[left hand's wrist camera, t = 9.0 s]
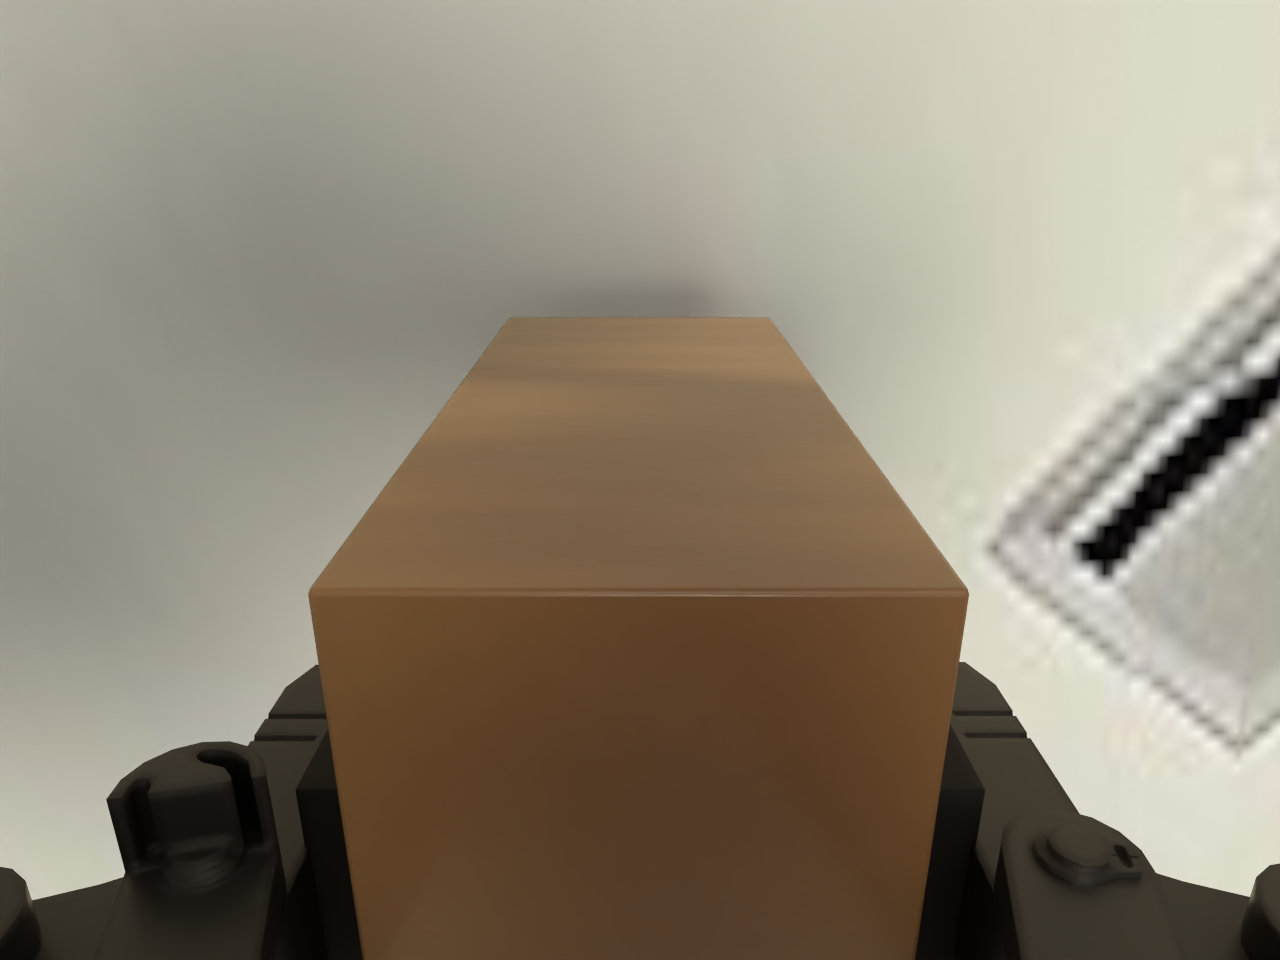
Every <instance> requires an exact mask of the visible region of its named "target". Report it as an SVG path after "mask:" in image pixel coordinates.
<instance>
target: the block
mask: <svg viewBox="0 0 1280 960" xmlns="http://www.w3.org/2000/svg"><path fill="white" fill-rule="evenodd" d="M308 595H309V602H310V609H311V615H312V622H313V629H314V635H315V642H316V649H317V656H318V662H319V669H320V676H321V682H322V689H323V696H324V703H325V709H326V716H327V723H328V729H329V736H330V743H331V750H332V756H333V763H334V770H335V776H336V783H337V790H338V797H339V803H340V810H341V817H342V823H343V830H344V837H345V844H346V850H347V857H348V864H349V870H350V877H351V884H352V891H353V897H354V904H355V911H356V917H357V924H358V931H359V938H360V944H361V951H362V958H363V960H915V956H916V949H917V942H918V936H919V929H920V922H921V915H922V908H923V902H924V895H925V888H926V881H927V875H928V868H929V861H930V854H931V848H932V841H933V834H934V827H935V821H936V814H937V807H938V800H939V793H940V787H941V780H942V773H943V766H944V760H945V753H946V746H947V739H948V733H949V726H950V719H951V712H952V706H953V699H954V692H955V685H956V678H957V672H958V665H959V658H960V651H961V645H962V638H963V631H964V624H965V618H966V611H967V604H968V597H969V592H968V589H967V588H966V586H965V585H964V583H963V582H962V581H961V579H960V578H959V577H958V575H957V574H956V573H955V571H954V570H953V568H952V567H951V566H950V564H949V563H948V562H947V560H946V559H945V557H944V556H943V555H942V553H941V552H940V551H939V549H938V548H937V547H936V545H935V544H934V542H933V541H932V540H931V538H930V537H929V536H928V534H927V533H926V531H925V530H924V529H923V527H922V526H921V525H920V523H919V522H918V521H917V519H916V518H915V516H914V515H913V514H912V512H911V511H910V510H909V508H908V507H907V505H906V504H905V503H904V501H903V500H902V499H901V497H900V496H899V494H898V493H897V492H896V490H895V489H894V488H893V486H892V485H891V484H890V482H889V481H888V479H887V478H886V477H885V475H884V474H883V473H882V471H881V470H880V468H879V467H878V466H877V464H876V463H875V462H874V460H873V459H872V458H871V456H870V455H869V453H868V452H867V451H866V449H865V448H864V447H863V445H862V444H861V442H860V441H859V440H858V438H857V437H856V436H855V434H854V433H853V432H852V430H851V429H850V427H849V426H848V425H847V423H846V422H845V421H844V419H843V418H842V416H841V415H840V414H839V412H838V411H837V410H836V408H835V407H834V405H833V404H832V403H831V401H830V400H829V399H828V397H827V396H826V395H825V393H824V392H823V390H822V389H821V388H820V386H819V385H818V384H817V382H816V381H815V379H814V378H813V377H812V375H811V374H810V373H809V371H808V370H807V369H806V367H805V366H804V364H803V363H802V362H801V360H800V359H799V358H798V356H797V355H796V353H795V352H794V351H793V349H792V348H791V347H790V345H789V344H788V342H787V341H786V340H785V338H784V337H783V336H782V334H781V333H780V332H779V330H778V329H777V327H776V326H775V325H774V323H773V322H772V321H771V319H770V318H509V319H508V320H507V322H506V323H505V325H504V326H503V327H502V329H501V330H500V331H499V333H498V334H497V335H496V337H495V338H494V339H493V341H492V342H491V344H490V345H489V346H488V348H487V349H486V350H485V352H484V353H483V354H482V356H481V357H480V359H479V360H478V361H477V363H476V364H475V365H474V367H473V368H472V369H471V371H470V372H469V373H468V375H467V376H466V378H465V379H464V380H463V382H462V383H461V384H460V386H459V387H458V388H457V390H456V391H455V392H454V394H453V395H452V397H451V398H450V399H449V401H448V402H447V403H446V405H445V406H444V407H443V409H442V410H441V411H440V413H439V414H438V416H437V417H436V418H435V420H434V421H433V422H432V424H431V425H430V426H429V428H428V429H427V430H426V432H425V433H424V435H423V436H422V437H421V439H420V440H419V441H418V443H417V444H416V445H415V447H414V448H413V449H412V451H411V452H410V454H409V455H408V456H407V458H406V459H405V460H404V462H403V463H402V464H401V466H400V467H399V469H398V470H397V471H396V473H395V474H394V475H393V477H392V478H391V479H390V481H389V482H388V483H387V485H386V486H385V488H384V489H383V490H382V492H381V493H380V494H379V496H378V497H377V498H376V500H375V501H374V502H373V504H372V505H371V507H370V508H369V509H368V511H367V512H366V513H365V515H364V516H363V517H362V519H361V520H360V521H359V523H358V524H357V526H356V527H355V528H354V530H353V531H352V532H351V534H350V535H349V536H348V538H347V539H346V540H345V542H344V543H343V545H342V546H341V547H340V549H339V550H338V551H337V553H336V554H335V555H334V557H333V558H332V559H331V561H330V562H329V564H328V565H327V566H326V568H325V569H324V570H323V572H322V573H321V574H320V576H319V577H318V579H317V580H316V581H315V583H314V584H313V585H312V587H311V588H310V590H309V593H308Z"/></svg>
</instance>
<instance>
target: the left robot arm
mask: <svg viewBox="0 0 1280 960" xmlns="http://www.w3.org/2000/svg"><path fill="white" fill-rule="evenodd" d="M106 800H107V804H108V808H109V811H110V815H111V819H112V823H113V826H114V830H115V834H116V838H117V842H118V845H119V849H120V853H121V857H122V861H123V864H124V868H125V875H124V877H123V878H119V879H116V880H113V881H110V882H107V883H103V884H100V885H96V886H92V887H88V888H83V889H79V890H75V891H71V892H66V893H62V894H58V895H54V896H49V897H45V898H41V899H37V900H31V897H30V893H29V890H28V887H27V884H26V881H25V880H24V879H23V878H22V877H21V876H19V875H18V874H17V873H16V872H15V871H14V870H13V869H9V868H4V867H0V960H363V958H362V951H361V944H360V938H359V931H358V924H357V917H356V911H355V904H354V897H353V891H352V884H351V877H350V870H349V864H348V857H347V850H346V844H345V837H344V830H343V823H342V817H341V810H340V803H339V797H338V790H337V783H336V776H335V770H334V763H333V756H332V750H331V743H330V736H329V729H328V723H327V716H326V709H325V703H324V696H323V689H322V682H321V676H320V669H319V665H315V666H314V667H313V668H311V669H310V670H309V671H307V672H306V673H305V674H303V675H302V676H301V677H299V678H298V679H296V680H295V681H294V682H292V683H291V684H290V685H288V686H287V687H286V688H285V689H284V691H283V692H282V694H281V696H280V697H279V699H278V700H277V702H276V703H275V705H274V706H273V708H272V709H271V711H270V713H269V718H268V719H265V720H264V722H263V723H262V725H261V726H260V728H259V730H258V731H257V733H256V734H255V739H254V741H251V742H250V743H249V745H248V746H245V745H241V744H237V743H233V742H230V741H228V742H201V743H197V744H193V745H189V746H185V747H181V748H177V749H173V750H171V751H168V752H166V753H164V754H162V755H160V756H157V757H155V758H153V759H151V760H149V761H147V762H144V763H143V764H142V765H140V766H139V767H138V768H136V769H135V770H134V771H132V772H131V773H129V774H128V775H127V776H125V777H124V778H123V779H121V780H120V782H119V783H118V784H117V786H116V787H115V788H114V790H113V791H112V793H111V794H110V795H109V797H108V798H107V799H106ZM915 960H1280V864H1275V865H1270V866H1269V867H1267V868H1266V869H1265V870H1264V871H1263V872H1262V873H1261V874H1260V875H1258V876H1257V877H1256V880H1255V883H1254V887H1253V890H1252V893H1251V896H1250V897H1247V896H1243V895H1238V894H1234V893H1230V892H1226V891H1221V890H1217V889H1213V888H1208V887H1204V886H1200V885H1196V884H1191V883H1187V882H1183V881H1180V880H1176V879H1173V878H1170V877H1167V876H1163V875H1160V874H1157V873H1155V871H1154V869H1153V868H1152V866H1151V865H1150V863H1149V862H1148V860H1147V858H1146V857H1145V855H1144V854H1143V852H1142V851H1141V850H1140V849H1139V848H1138V847H1137V846H1136V845H1134V844H1133V843H1132V842H1131V841H1130V840H1128V839H1127V838H1126V837H1125V836H1124V835H1123V834H1121V833H1120V832H1119V831H1117V830H1115V829H1113V828H1111V827H1109V826H1107V825H1105V824H1103V823H1101V822H1099V821H1097V820H1096V819H1094V818H1091V817H1088V816H1084V815H1080V814H1079V812H1078V811H1077V809H1076V808H1075V806H1074V805H1073V803H1072V802H1071V800H1070V798H1069V797H1068V795H1067V794H1066V792H1065V791H1064V789H1063V788H1062V786H1061V785H1060V783H1059V782H1058V780H1057V779H1056V777H1055V775H1054V774H1053V772H1052V771H1051V769H1050V768H1049V766H1048V765H1047V763H1046V762H1045V760H1044V759H1043V757H1042V755H1041V754H1040V752H1039V751H1038V749H1037V748H1036V746H1035V745H1034V743H1033V742H1032V740H1031V739H1030V738H1027V732H1026V731H1025V729H1024V728H1023V726H1022V725H1021V723H1020V722H1019V720H1018V719H1017V717H1016V716H1013V714H1012V709H1011V708H1010V706H1009V705H1008V703H1007V702H1006V700H1005V699H1004V697H1003V696H1002V694H1001V693H1000V691H999V690H998V688H997V686H996V685H995V684H994V683H992V682H991V681H990V680H988V679H987V678H986V677H984V676H983V675H982V674H980V673H979V672H977V671H976V670H975V669H973V668H972V667H971V666H969V665H968V664H967V663H965V662H959V665H958V672H957V678H956V685H955V692H954V699H953V706H952V712H951V719H950V726H949V733H948V739H947V746H946V753H945V760H944V766H943V773H942V780H941V787H940V793H939V800H938V807H937V814H936V821H935V827H934V834H933V841H932V848H931V854H930V861H929V868H928V875H927V881H926V888H925V895H924V902H923V908H922V915H921V922H920V929H919V936H918V942H917V949H916V956H915Z"/></svg>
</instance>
